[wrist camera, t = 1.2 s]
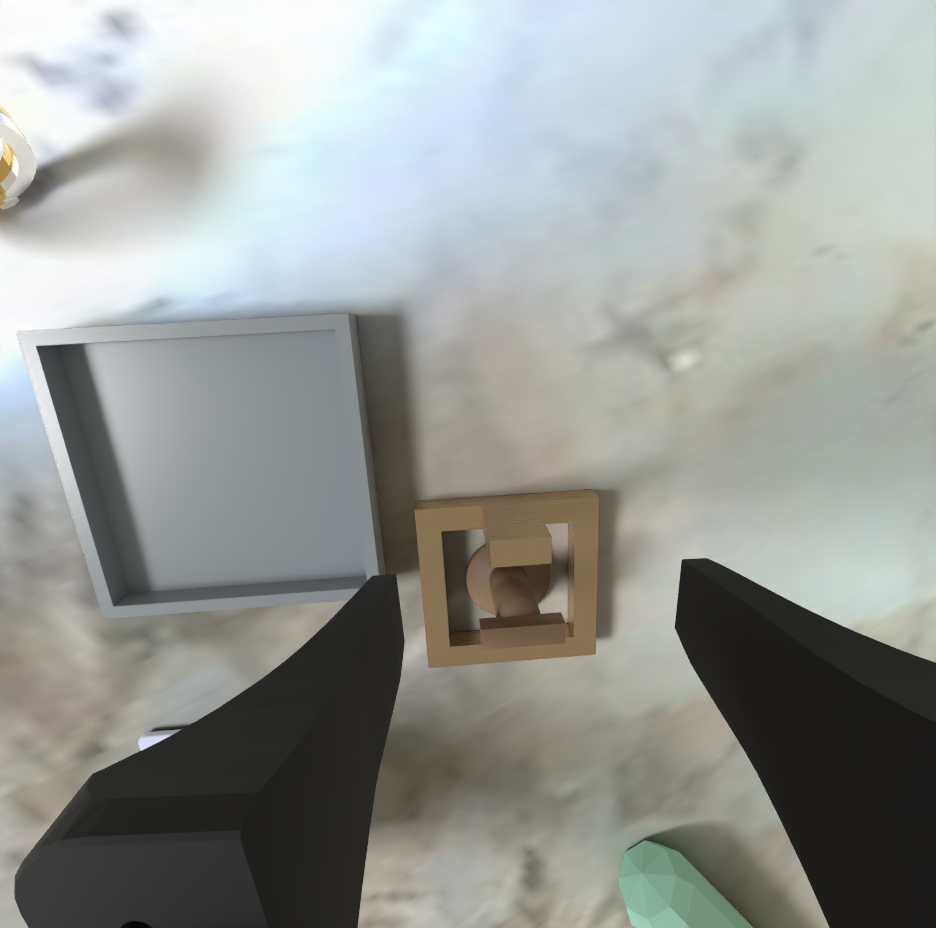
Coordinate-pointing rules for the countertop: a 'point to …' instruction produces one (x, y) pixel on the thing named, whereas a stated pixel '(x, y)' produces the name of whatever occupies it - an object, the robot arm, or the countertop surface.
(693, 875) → the container
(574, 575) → the wooden frame with post
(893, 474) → the countertop surface
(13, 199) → the ring
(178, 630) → the countertop surface
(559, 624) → the brown stamp
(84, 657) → the countertop surface
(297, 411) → the tray
